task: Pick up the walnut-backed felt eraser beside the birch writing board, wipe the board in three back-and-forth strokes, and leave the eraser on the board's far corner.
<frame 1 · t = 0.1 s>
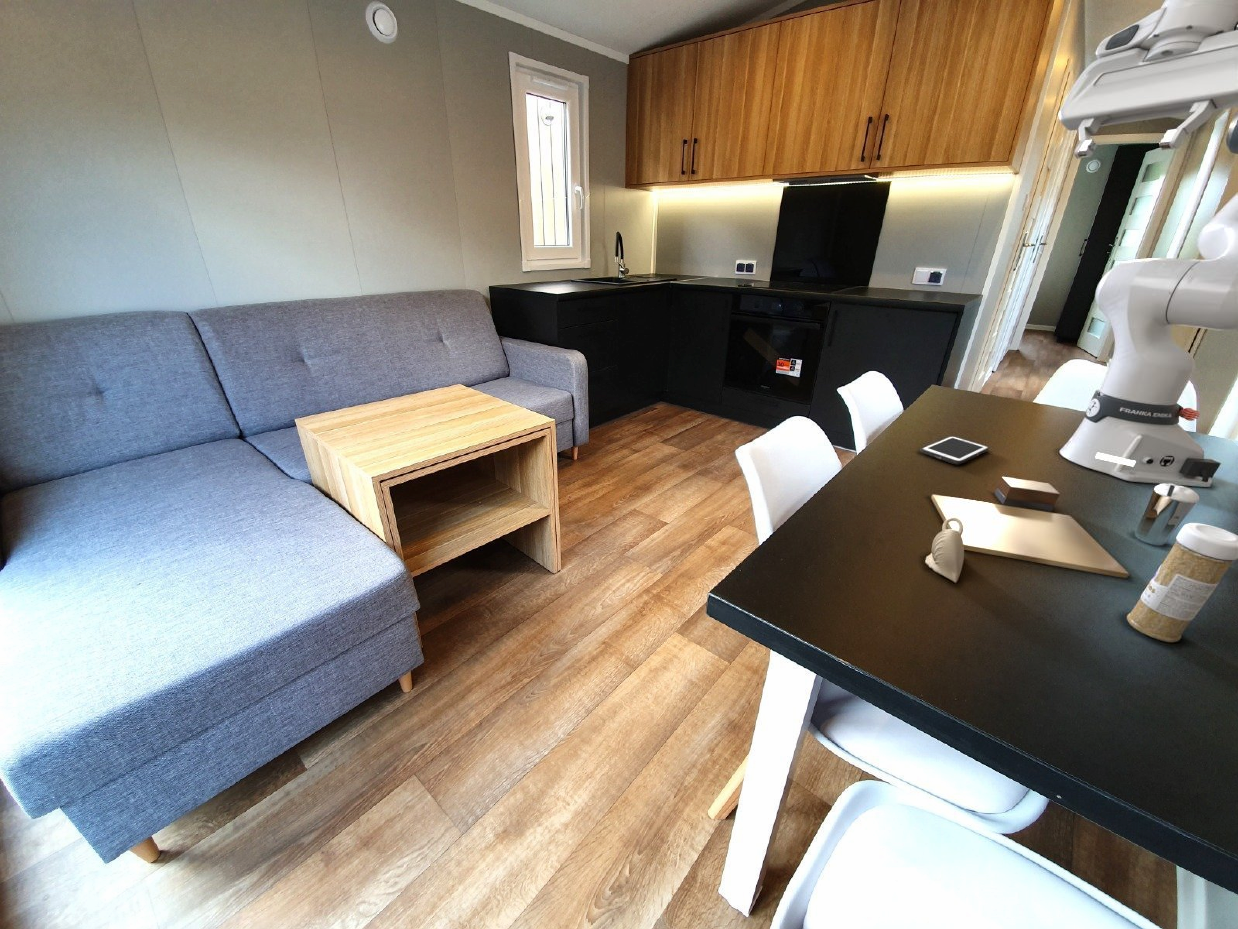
hand: (1122, 152, 66), 52 cm above the table, tool tilted 20°, fingers open, 8 cm apart
silver metal cylinder: (1146, 541, 75), on the table
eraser: (1022, 502, 84), on the table
decorative ornament: (944, 565, 68), on the table
writing board: (1016, 533, 75), on the table
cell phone: (953, 452, 104), on the table
sprinkles bottle: (1150, 631, 57), on the table
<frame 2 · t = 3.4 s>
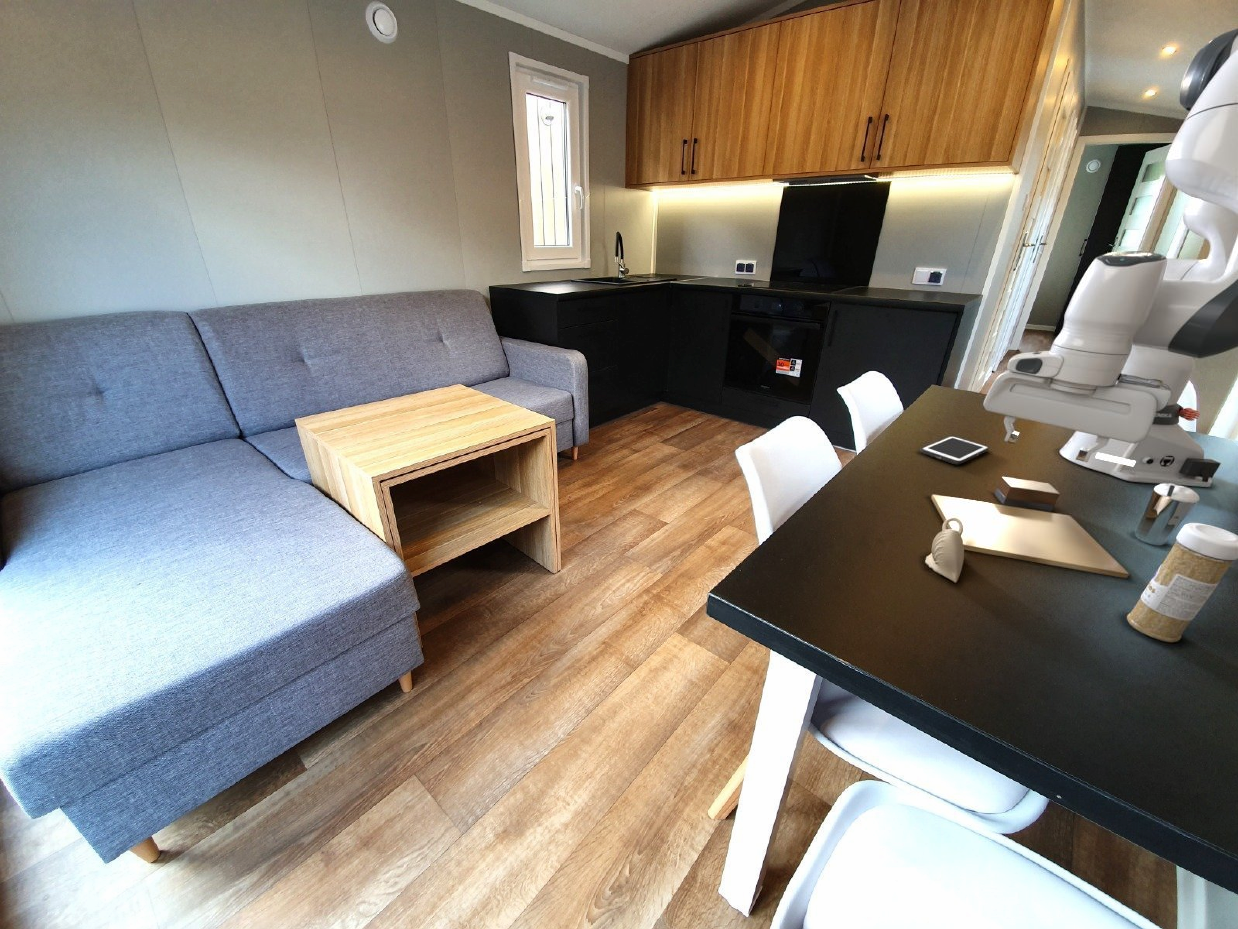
hand: (1044, 450, 80), 10 cm above the table, tool pointing down, fingers open, 8 cm apart
nothing on the table moved.
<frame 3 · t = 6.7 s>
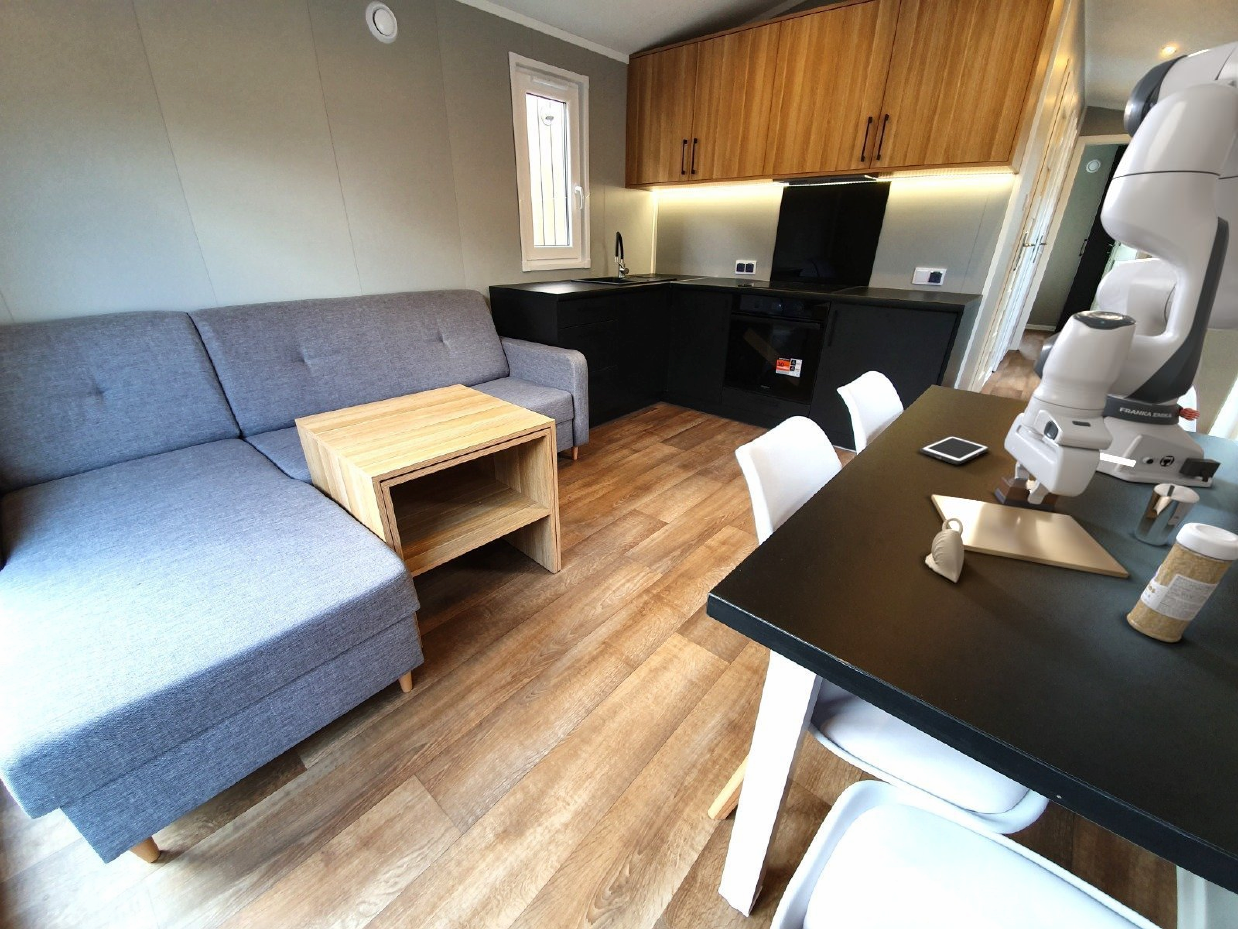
hand: (1025, 494, 84), 2 cm above the table, tool pointing down, fingers closed on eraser, 4 cm apart
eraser: (1021, 502, 84), on the table, touching gripper
everything else where it was.
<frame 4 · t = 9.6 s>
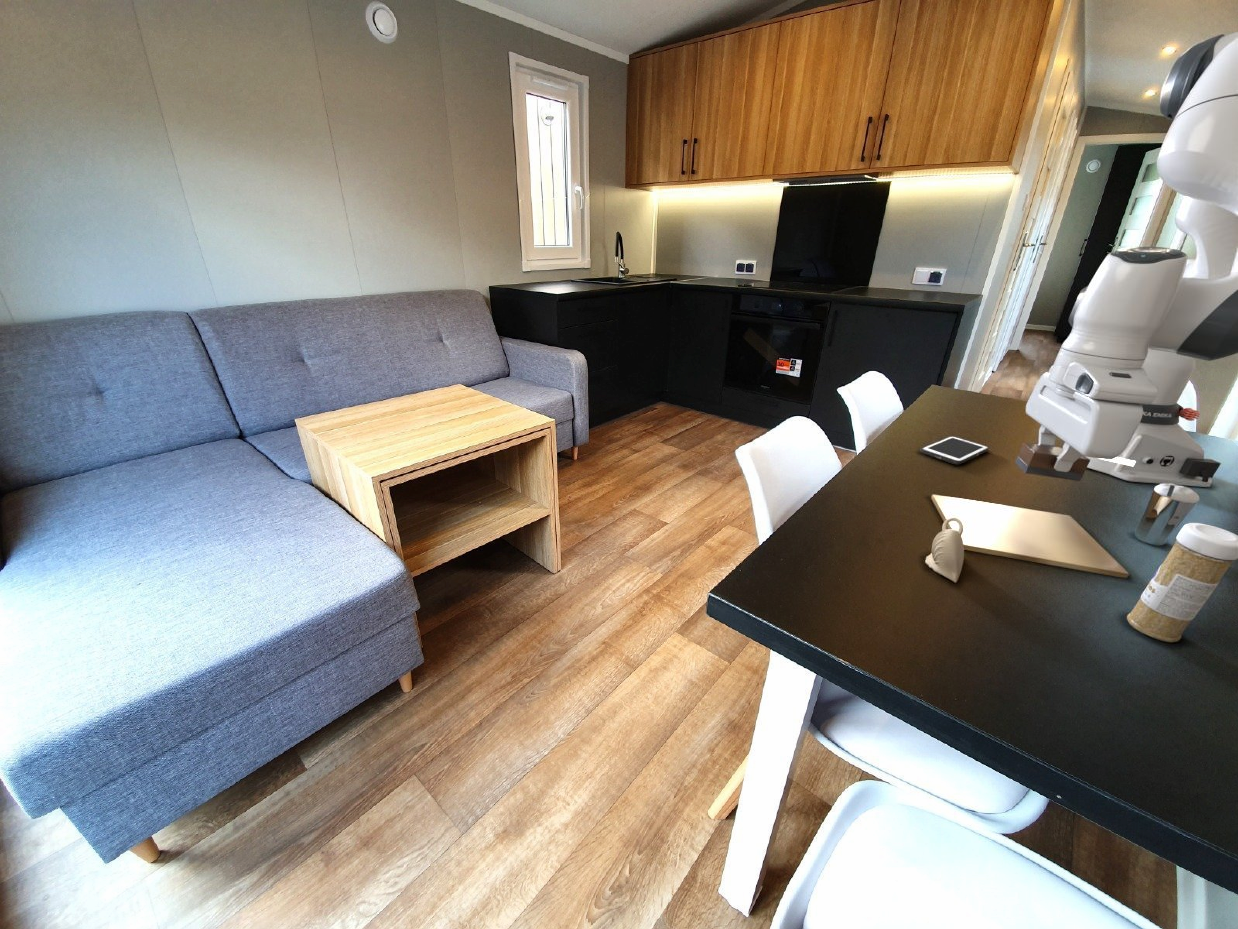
hand: (1050, 462, 74), 10 cm above the table, tool pointing down, fingers closed on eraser, 4 cm apart
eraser: (1046, 471, 75), point 9 cm above the table, touching gripper
everything else where it was.
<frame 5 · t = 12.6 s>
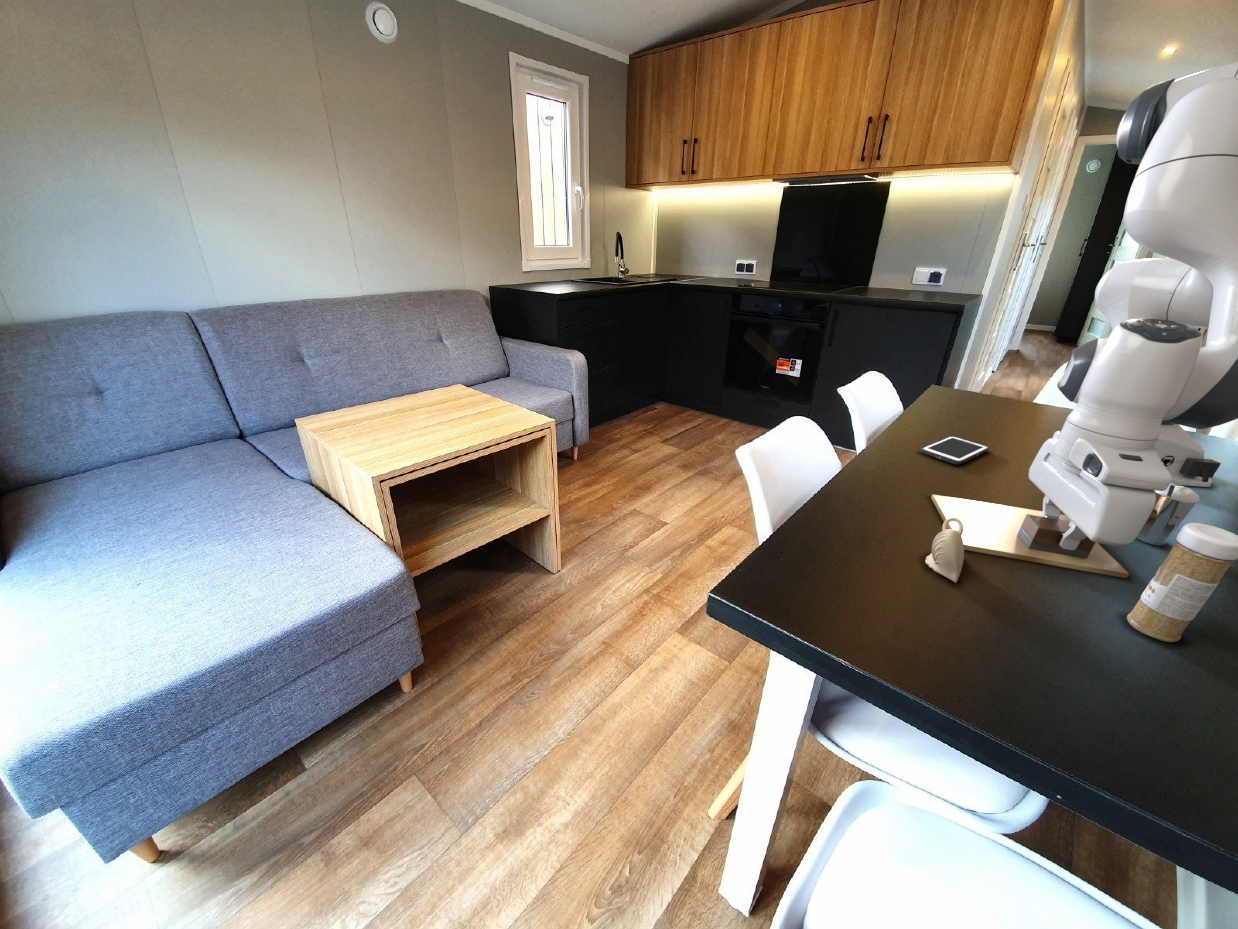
hand: (1055, 536, 70), 2 cm above the table, tool pointing down, fingers closed on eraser, 4 cm apart
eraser: (1050, 545, 71), point 1 cm above the table, touching gripper
everything else where it was.
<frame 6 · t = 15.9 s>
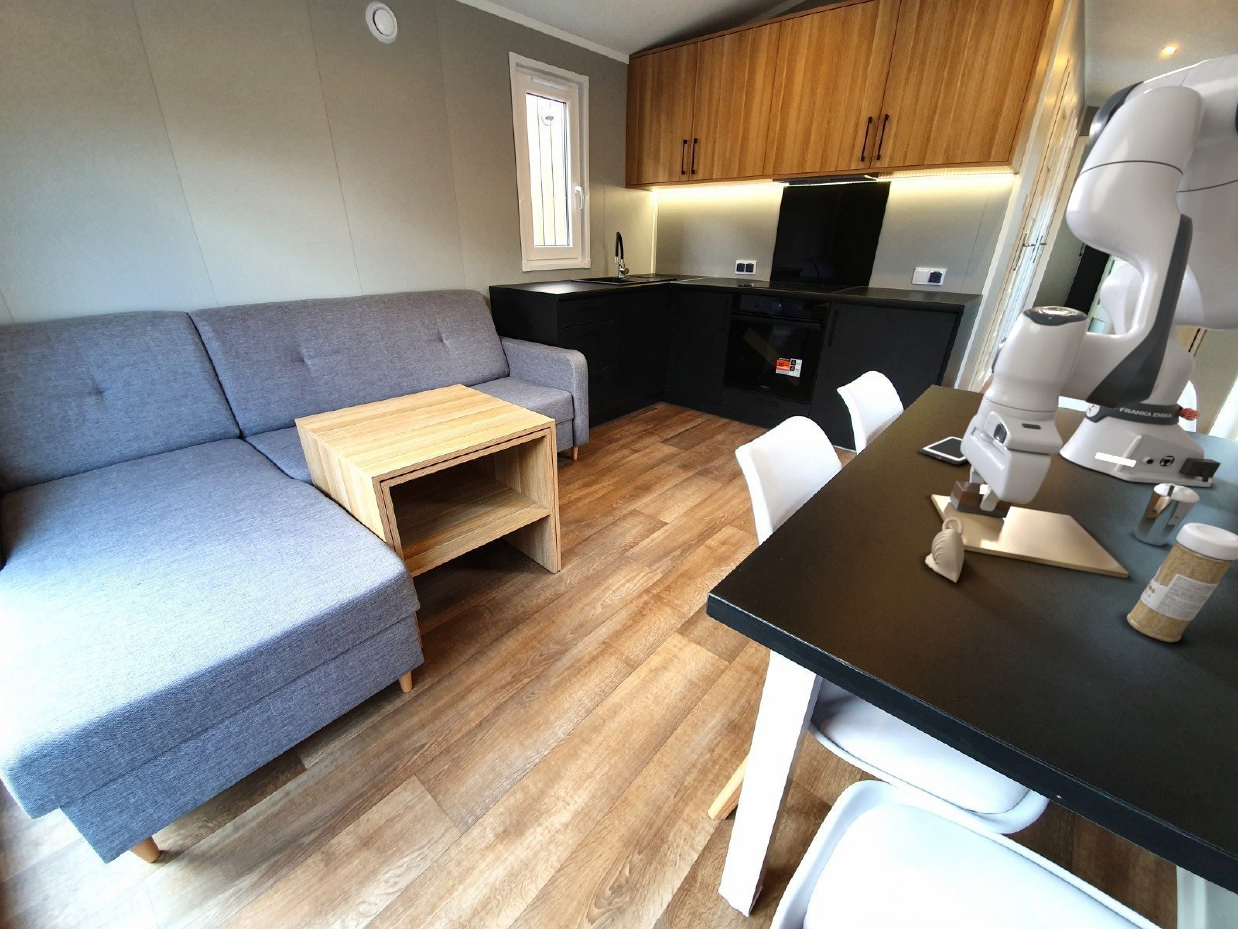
hand: (979, 500, 79), 2 cm above the table, tool pointing down, fingers closed on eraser, 4 cm apart
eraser: (976, 508, 80), point 1 cm above the table, touching gripper
everything else where it was.
when the fingers open (2 cm above the table, at t = 18.9 s): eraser stays where it is, resting on writing board.
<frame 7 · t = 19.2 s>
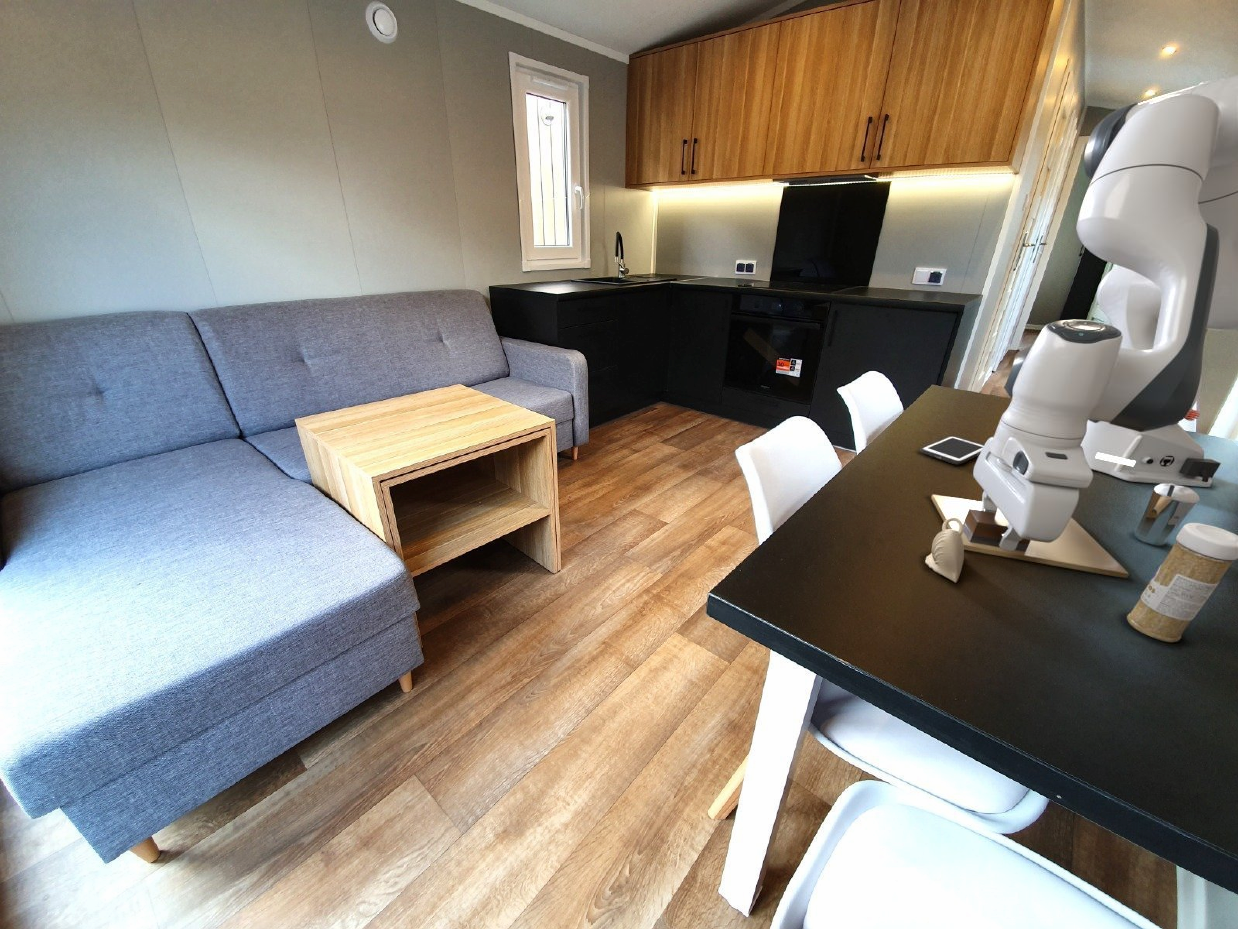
hand: (995, 533, 72), 2 cm above the table, tool pointing down, fingers open, 6 cm apart
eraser: (992, 539, 72), point 1 cm above the table, touching writing board
everything else where it was.
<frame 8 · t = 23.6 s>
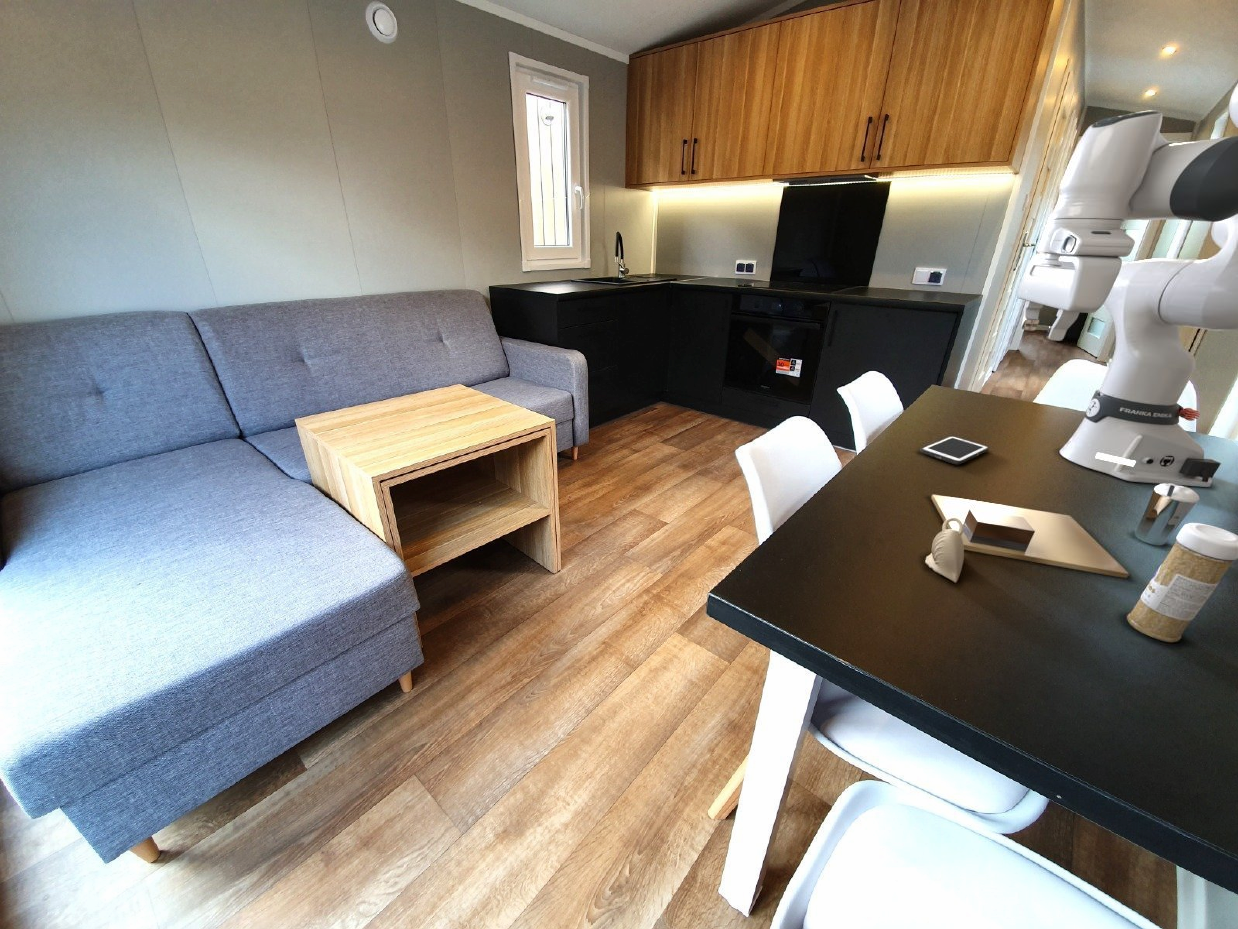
hand: (1039, 334, 80), 27 cm above the table, tool pointing down, fingers open, 8 cm apart
nothing on the table moved.
at the end: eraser inside the target area (7.1 cm from its centre), point 0.8 cm above the table; the gripper is holding nothing; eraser moved 19.7 cm from its start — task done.
